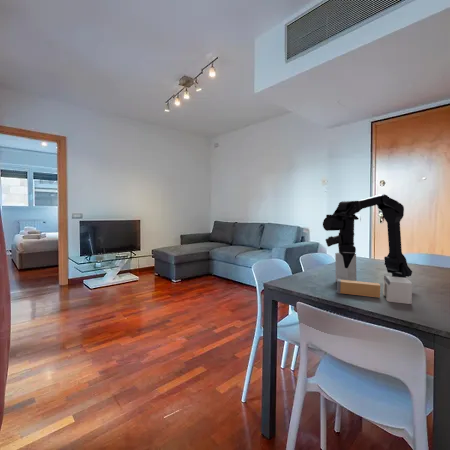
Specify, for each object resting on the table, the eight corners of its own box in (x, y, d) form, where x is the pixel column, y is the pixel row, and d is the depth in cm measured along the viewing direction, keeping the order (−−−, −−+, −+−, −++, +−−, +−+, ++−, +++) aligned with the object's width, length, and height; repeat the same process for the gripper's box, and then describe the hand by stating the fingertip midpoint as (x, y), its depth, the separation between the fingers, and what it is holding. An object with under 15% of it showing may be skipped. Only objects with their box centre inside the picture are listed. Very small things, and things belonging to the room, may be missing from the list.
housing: (383, 294, 117) (384, 275, 116) (405, 296, 114) (405, 277, 113) (387, 301, 107) (388, 281, 107) (411, 304, 104) (412, 283, 104)
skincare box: (356, 284, 132) (357, 253, 132) (347, 285, 130) (348, 254, 129) (342, 279, 140) (343, 251, 139) (334, 281, 137) (335, 252, 137)
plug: (337, 290, 121) (337, 278, 121) (378, 295, 115) (378, 282, 114) (337, 293, 117) (337, 281, 116) (380, 298, 111) (380, 285, 110)
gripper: (327, 228, 128) (326, 260, 129) (326, 231, 111) (325, 268, 112) (353, 229, 124) (352, 262, 125) (356, 232, 107) (355, 271, 108)
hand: (345, 265), depth 118 cm, fingers open, 9 cm apart
